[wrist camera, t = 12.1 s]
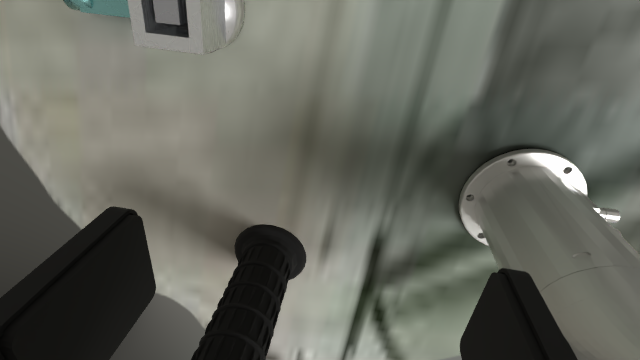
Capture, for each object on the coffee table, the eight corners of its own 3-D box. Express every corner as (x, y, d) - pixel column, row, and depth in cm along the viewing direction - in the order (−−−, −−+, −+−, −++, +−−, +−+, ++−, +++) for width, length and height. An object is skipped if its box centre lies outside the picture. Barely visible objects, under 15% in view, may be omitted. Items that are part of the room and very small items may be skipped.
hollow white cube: (223, -28, 29) (197, -30, 25) (226, 45, 32) (203, 54, 28) (158, -35, 29) (121, -39, 25) (166, 37, 32) (134, 45, 28)
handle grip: (229, 223, 46) (240, 278, 50) (84, 460, 23) (131, 520, 28) (303, 226, 44) (308, 283, 49) (229, 482, 21) (251, 541, 26)
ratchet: (243, -40, 31) (212, -47, 25) (245, 54, 35) (218, 68, 29) (73, -58, 32) (2, -68, 26) (93, 35, 36) (37, 45, 30)
